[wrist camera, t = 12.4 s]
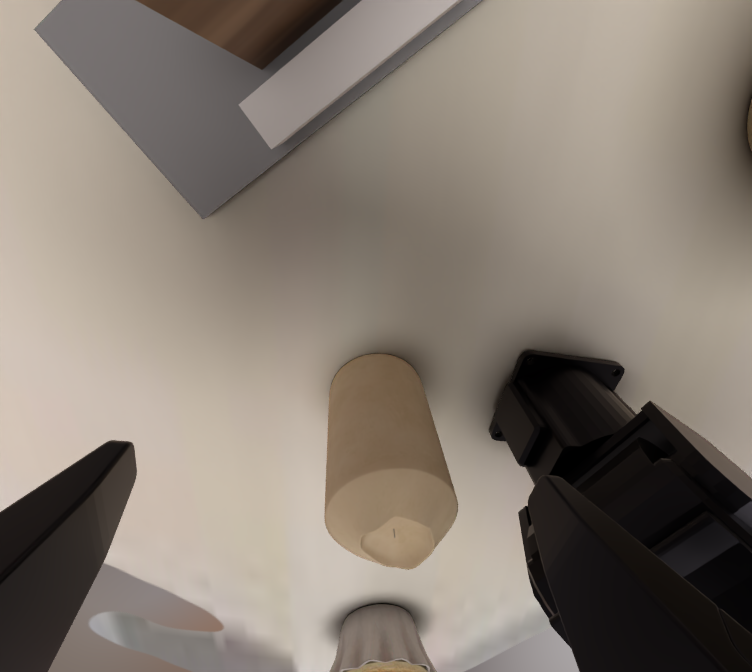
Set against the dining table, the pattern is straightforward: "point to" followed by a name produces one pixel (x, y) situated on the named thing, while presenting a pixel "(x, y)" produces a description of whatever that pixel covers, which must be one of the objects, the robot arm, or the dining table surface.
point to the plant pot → (750, 126)
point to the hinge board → (232, 82)
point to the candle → (385, 465)
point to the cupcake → (380, 642)
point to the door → (246, 23)
